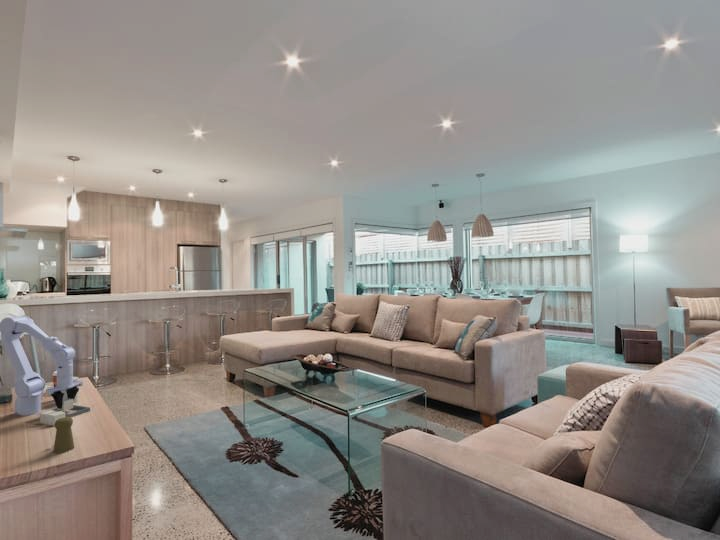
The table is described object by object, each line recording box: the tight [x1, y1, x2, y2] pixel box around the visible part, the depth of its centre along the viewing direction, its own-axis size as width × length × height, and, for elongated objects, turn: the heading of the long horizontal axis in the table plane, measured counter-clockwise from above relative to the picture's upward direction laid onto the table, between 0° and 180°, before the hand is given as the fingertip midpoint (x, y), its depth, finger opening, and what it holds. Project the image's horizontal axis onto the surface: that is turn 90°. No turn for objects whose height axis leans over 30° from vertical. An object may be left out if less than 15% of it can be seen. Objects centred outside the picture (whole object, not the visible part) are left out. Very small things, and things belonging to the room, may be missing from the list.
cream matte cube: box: [58, 398, 74, 412], centre depth 174 cm, size 4×4×4 cm
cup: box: [61, 376, 80, 404], centre depth 189 cm, size 8×8×12 cm
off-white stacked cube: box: [39, 409, 57, 424], centre depth 162 cm, size 4×4×4 cm
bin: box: [51, 404, 91, 418], centre depth 173 cm, size 13×9×3 cm
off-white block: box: [48, 411, 66, 427], centre depth 161 cm, size 4×4×4 cm
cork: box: [52, 417, 75, 454], centre depth 141 cm, size 6×6×11 cm
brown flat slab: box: [24, 416, 55, 428], centre depth 163 cm, size 16×7×2 cm, turn 70°
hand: (64, 406), depth 174 cm, fingers closed on cream matte cube, 4 cm apart
